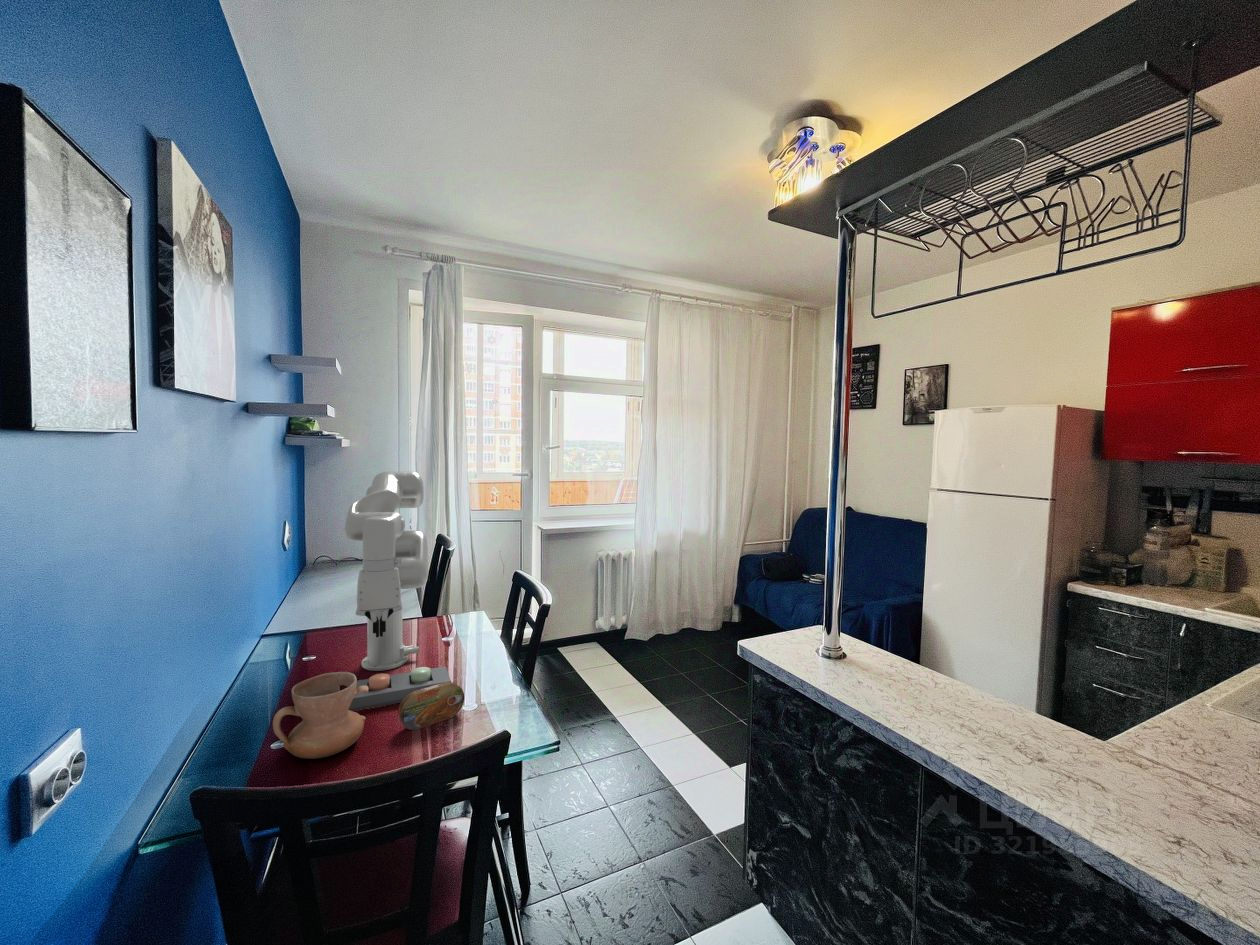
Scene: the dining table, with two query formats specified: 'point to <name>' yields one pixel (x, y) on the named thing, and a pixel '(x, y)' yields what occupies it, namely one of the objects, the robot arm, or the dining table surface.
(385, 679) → the terracotta button
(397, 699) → the button panel
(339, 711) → the ceramic jug
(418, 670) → the sage button
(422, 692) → the tin
